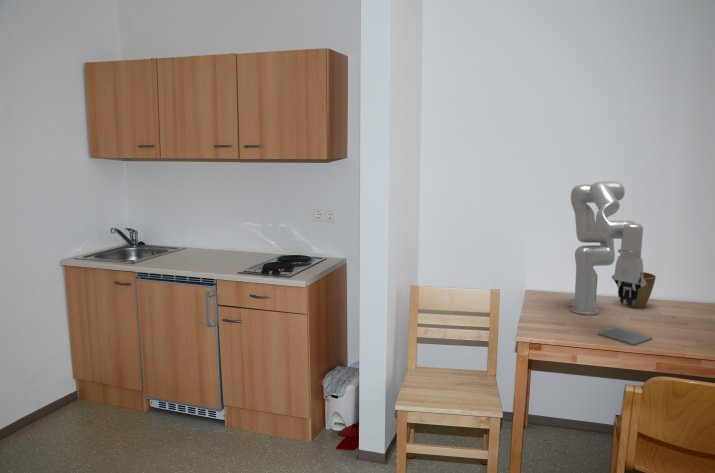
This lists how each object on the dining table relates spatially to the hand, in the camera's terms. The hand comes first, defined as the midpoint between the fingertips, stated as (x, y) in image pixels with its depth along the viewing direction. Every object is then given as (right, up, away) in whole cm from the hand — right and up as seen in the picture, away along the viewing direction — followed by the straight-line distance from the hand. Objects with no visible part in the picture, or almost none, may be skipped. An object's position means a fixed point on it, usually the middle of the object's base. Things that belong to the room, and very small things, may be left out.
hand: (627, 297), depth 237 cm
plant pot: (+26, -10, +47) cm, 54 cm away
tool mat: (0, -17, +3) cm, 17 cm away
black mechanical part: (0, -3, +1) cm, 3 cm away
